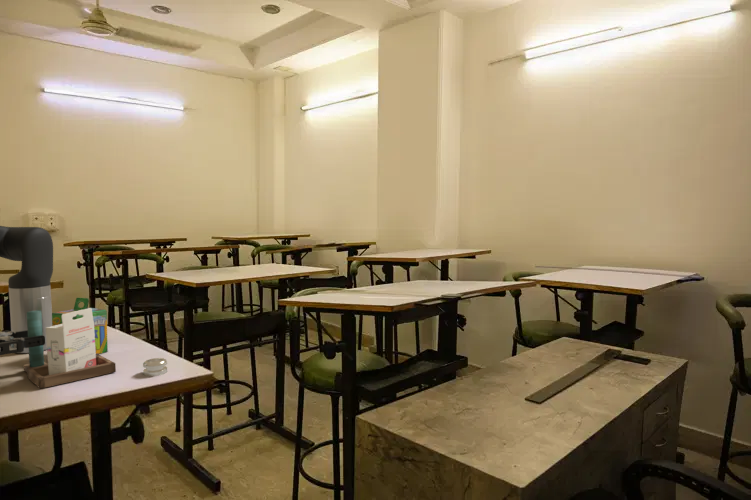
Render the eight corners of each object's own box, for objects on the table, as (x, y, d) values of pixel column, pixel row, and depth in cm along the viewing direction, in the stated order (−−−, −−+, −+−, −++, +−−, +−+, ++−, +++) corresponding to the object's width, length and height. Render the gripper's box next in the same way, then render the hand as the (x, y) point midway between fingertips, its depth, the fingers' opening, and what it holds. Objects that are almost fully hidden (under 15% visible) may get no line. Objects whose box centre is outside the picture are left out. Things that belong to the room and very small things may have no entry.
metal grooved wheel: (161, 368, 115) (139, 373, 111) (160, 356, 114) (138, 360, 111) (171, 372, 111) (149, 378, 108) (170, 359, 111) (149, 365, 107)
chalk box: (52, 357, 124) (48, 300, 123) (85, 348, 133) (82, 294, 132) (77, 361, 121) (74, 302, 120) (109, 351, 129) (107, 296, 128)
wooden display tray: (19, 370, 113) (16, 311, 112) (89, 357, 124) (86, 303, 123) (40, 388, 101) (36, 322, 100) (115, 371, 111) (113, 312, 110)
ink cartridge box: (79, 368, 114) (76, 306, 114) (97, 369, 113) (94, 307, 112) (47, 380, 106) (43, 313, 105) (65, 381, 105) (62, 314, 104)
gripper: (-49, 338, 96) (47, 325, 108) (-59, 328, 106) (30, 316, 118) (-47, 376, 97) (49, 358, 108) (-57, 362, 106) (32, 347, 118)
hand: (39, 336), depth 113 cm, fingers open, 8 cm apart
